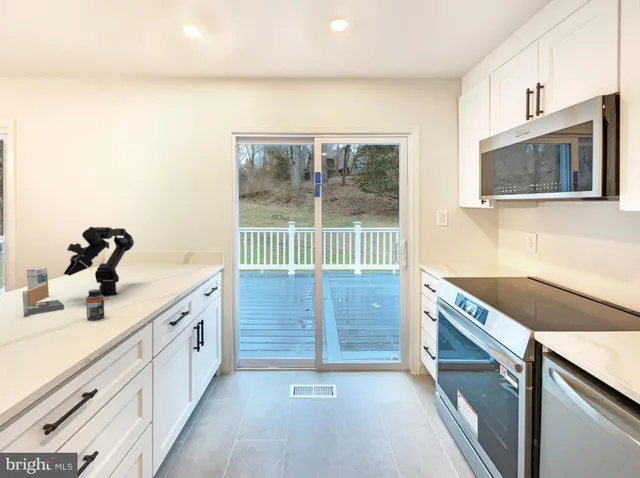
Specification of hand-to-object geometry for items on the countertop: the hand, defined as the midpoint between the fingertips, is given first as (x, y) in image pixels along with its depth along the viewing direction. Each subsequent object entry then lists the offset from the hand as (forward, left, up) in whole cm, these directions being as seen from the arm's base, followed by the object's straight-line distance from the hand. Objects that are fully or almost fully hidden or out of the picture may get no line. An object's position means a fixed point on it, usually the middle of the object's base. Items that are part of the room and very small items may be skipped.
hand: (66, 274), depth 168 cm
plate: (+10, +6, -13) cm, 18 cm away
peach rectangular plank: (+12, +5, -9) cm, 16 cm away
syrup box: (+7, -22, -13) cm, 27 cm away
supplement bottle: (-3, +34, -13) cm, 36 cm away
